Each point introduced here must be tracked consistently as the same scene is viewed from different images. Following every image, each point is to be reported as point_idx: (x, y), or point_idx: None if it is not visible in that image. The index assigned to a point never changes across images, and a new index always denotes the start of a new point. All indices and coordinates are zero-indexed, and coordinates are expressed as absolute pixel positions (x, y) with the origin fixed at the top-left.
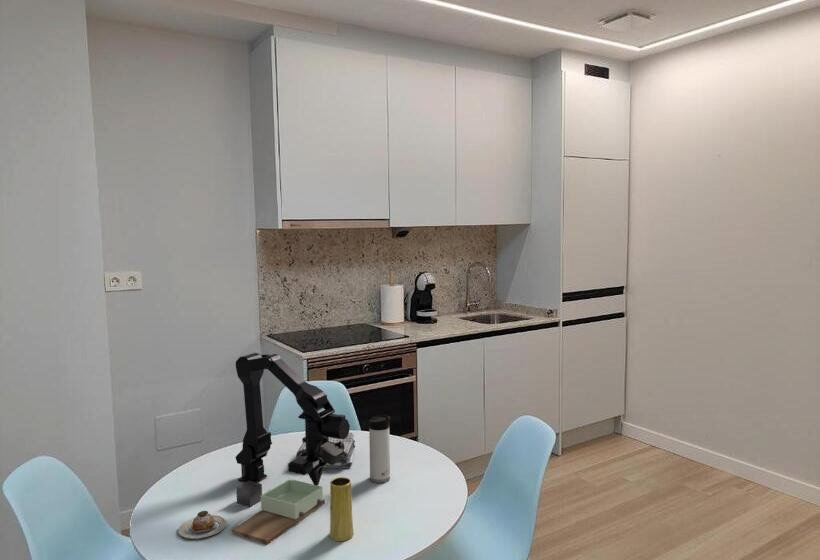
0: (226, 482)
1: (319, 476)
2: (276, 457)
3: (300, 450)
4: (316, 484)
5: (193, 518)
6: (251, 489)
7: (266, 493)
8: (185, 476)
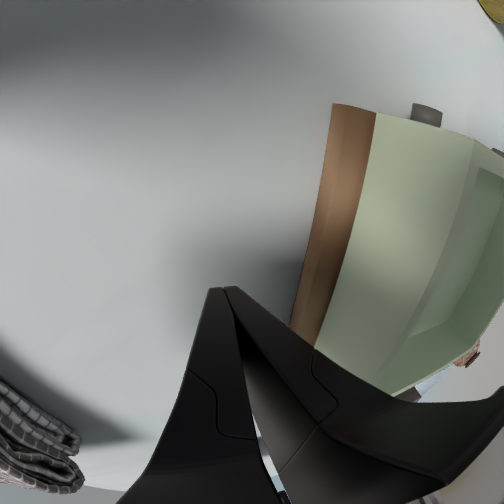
0: (268, 454)
1: (238, 344)
2: (91, 465)
3: (71, 492)
4: (244, 294)
5: None
6: (414, 401)
7: (464, 352)
8: (270, 473)
